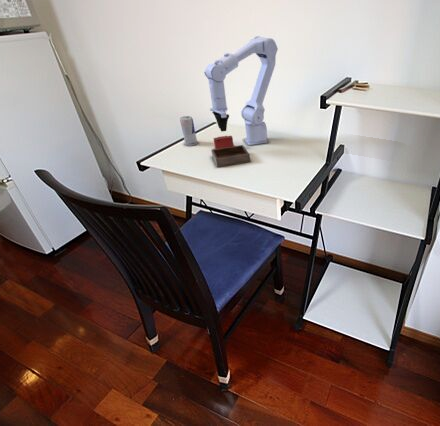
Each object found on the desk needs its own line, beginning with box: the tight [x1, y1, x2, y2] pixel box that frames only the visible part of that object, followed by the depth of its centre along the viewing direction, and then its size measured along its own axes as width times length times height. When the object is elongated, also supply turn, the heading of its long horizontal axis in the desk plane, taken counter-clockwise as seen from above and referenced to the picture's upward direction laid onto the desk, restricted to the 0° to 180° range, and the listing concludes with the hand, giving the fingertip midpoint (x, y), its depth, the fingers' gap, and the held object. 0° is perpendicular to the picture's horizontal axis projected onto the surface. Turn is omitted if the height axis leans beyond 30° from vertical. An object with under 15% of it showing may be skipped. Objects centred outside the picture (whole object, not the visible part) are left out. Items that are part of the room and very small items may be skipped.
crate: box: [211, 144, 251, 168], centre depth 127 cm, size 14×10×4 cm
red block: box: [213, 135, 234, 149], centre depth 136 cm, size 8×5×5 cm, turn 115°
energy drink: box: [179, 115, 198, 147], centre depth 137 cm, size 5×5×12 cm
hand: (222, 129), depth 130 cm, fingers open, 3 cm apart
